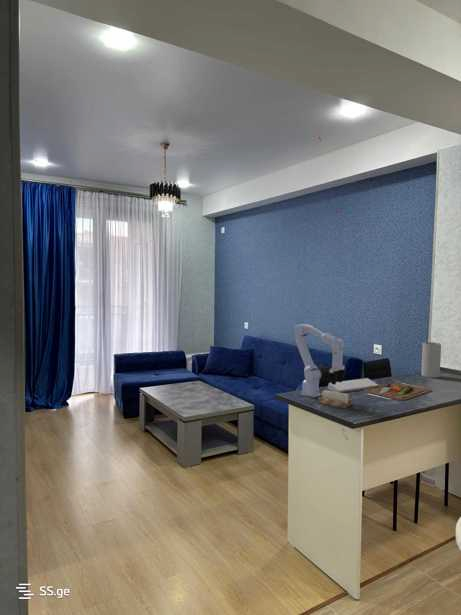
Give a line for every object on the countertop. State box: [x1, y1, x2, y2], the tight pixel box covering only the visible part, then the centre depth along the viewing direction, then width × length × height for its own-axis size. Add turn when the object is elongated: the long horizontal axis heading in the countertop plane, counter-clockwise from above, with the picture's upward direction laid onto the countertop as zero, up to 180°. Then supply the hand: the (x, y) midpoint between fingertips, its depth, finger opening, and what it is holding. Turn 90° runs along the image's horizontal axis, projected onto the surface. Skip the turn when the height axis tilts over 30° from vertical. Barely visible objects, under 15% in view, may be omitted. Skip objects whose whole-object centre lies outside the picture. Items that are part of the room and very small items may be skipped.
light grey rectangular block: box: [321, 389, 349, 404], centre depth 231 cm, size 14×4×5 cm, turn 49°
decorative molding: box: [327, 377, 379, 393], centre depth 268 cm, size 34×5×10 cm
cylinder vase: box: [421, 341, 442, 379], centre depth 307 cm, size 12×12×25 cm
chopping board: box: [363, 381, 432, 402], centre depth 262 cm, size 45×27×3 cm, turn 130°
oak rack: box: [317, 396, 352, 409], centre depth 232 cm, size 16×9×3 cm, turn 49°
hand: (336, 383), depth 237 cm, fingers open, 7 cm apart
